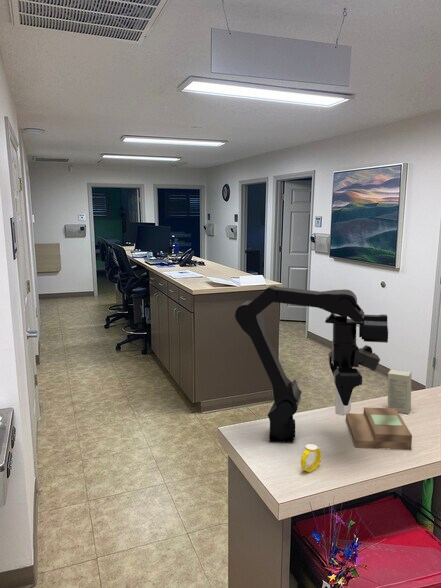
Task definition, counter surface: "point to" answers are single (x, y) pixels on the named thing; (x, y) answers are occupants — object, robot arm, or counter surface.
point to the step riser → (379, 429)
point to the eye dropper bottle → (341, 405)
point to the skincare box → (399, 390)
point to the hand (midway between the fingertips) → (343, 398)
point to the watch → (305, 454)
